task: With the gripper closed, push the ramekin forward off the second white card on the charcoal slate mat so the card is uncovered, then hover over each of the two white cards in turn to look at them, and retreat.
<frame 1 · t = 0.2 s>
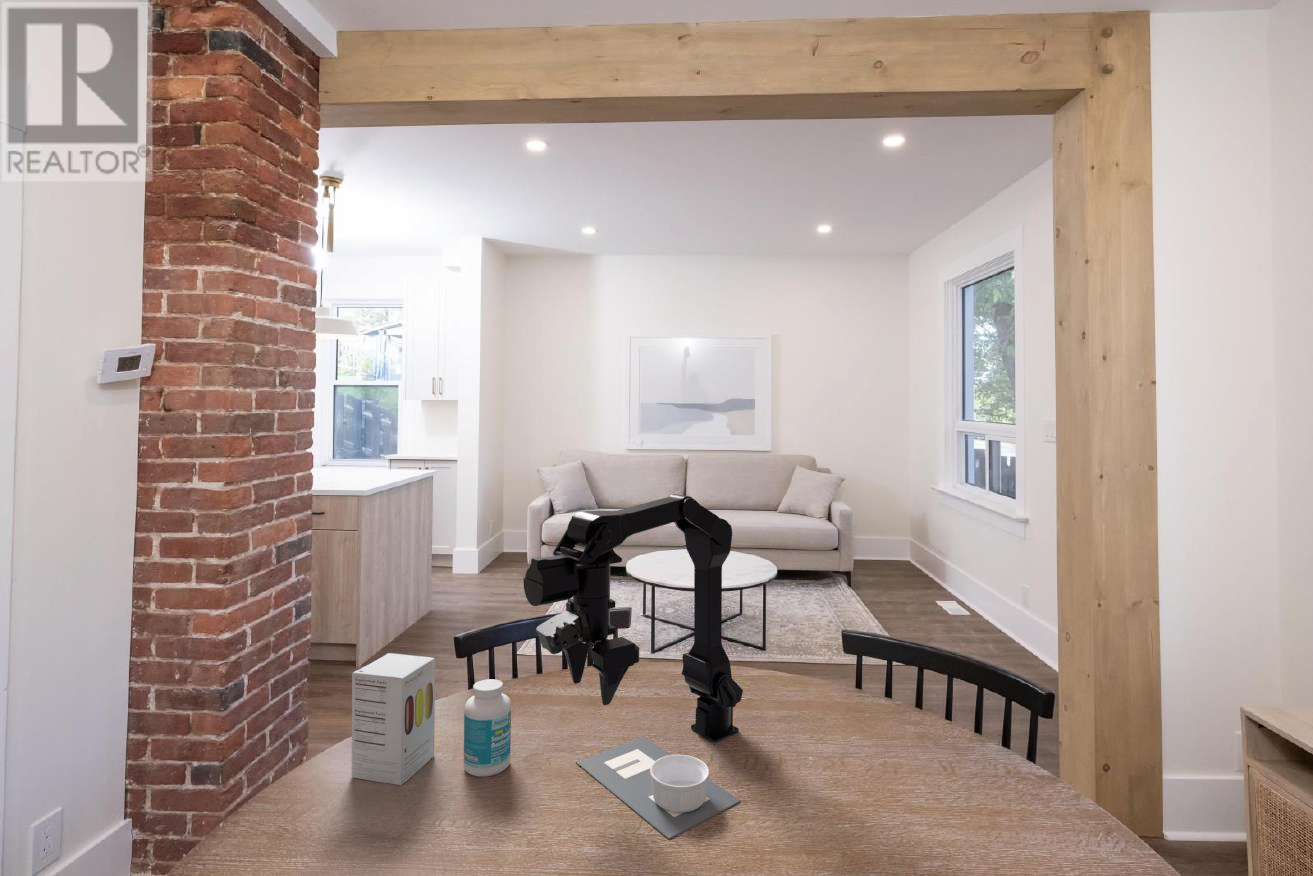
hand: (591, 693, 98), 14 cm above the table, tool pointing down, fingers open, 9 cm apart
slate mat: (654, 781, 99), on the table
ramekin: (679, 799, 95), resting on slate mat
supplement box: (394, 768, 103), on the table
pill bottle: (487, 767, 103), on the table
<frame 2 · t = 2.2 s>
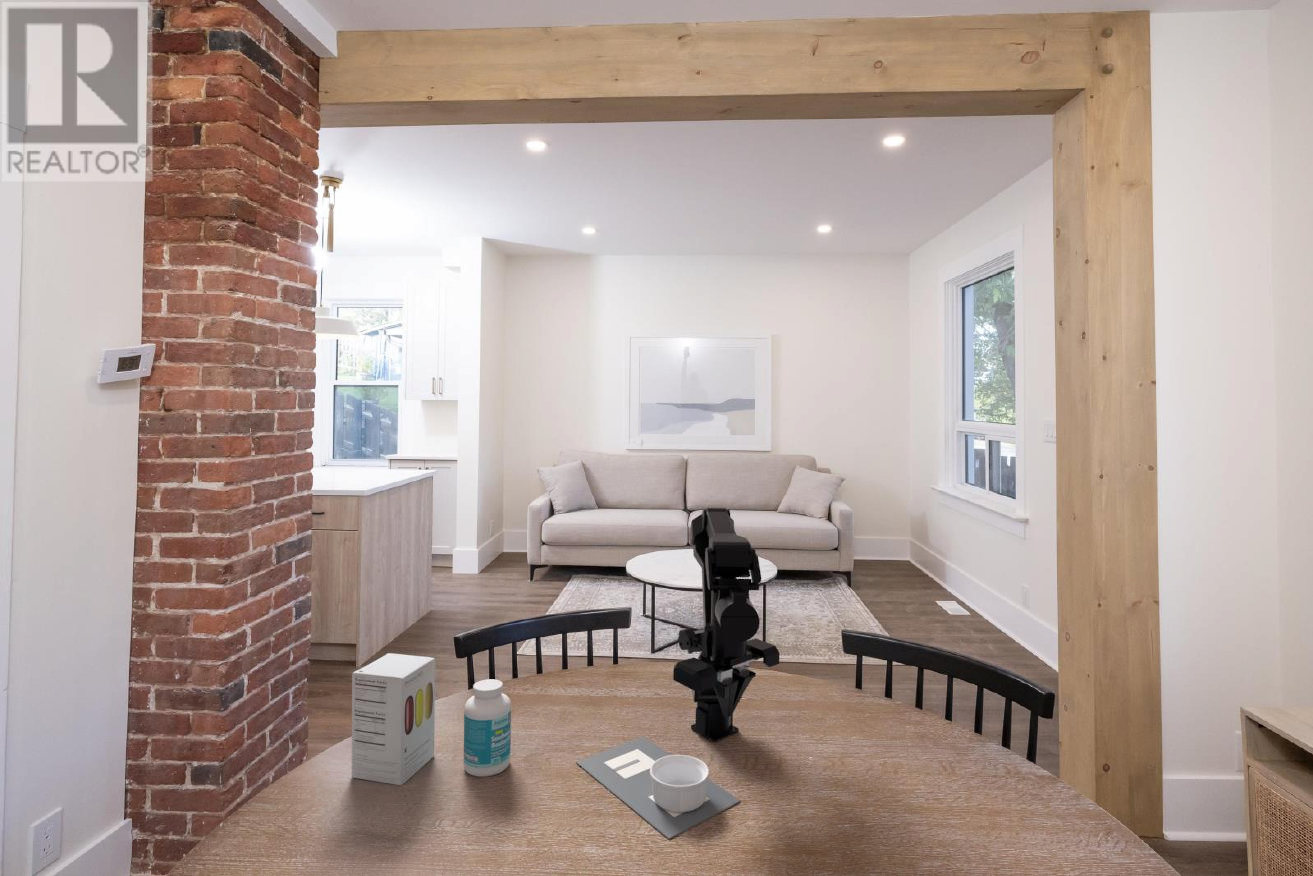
hand: (727, 715, 101), 10 cm above the table, tool pointing down, fingers closed
nothing on the table moved.
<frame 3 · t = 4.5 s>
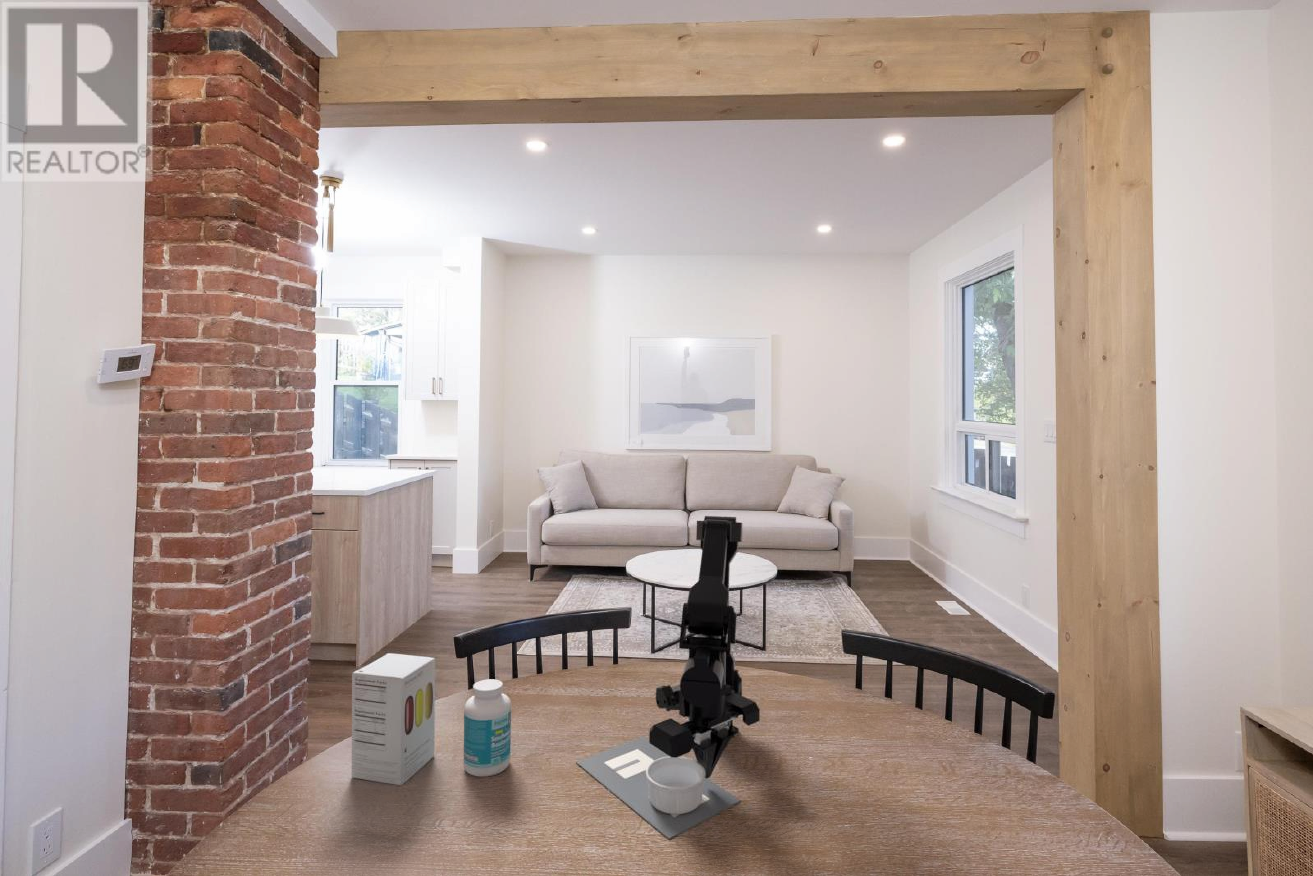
hand: (706, 776, 98), 2 cm above the table, tool pointing down, fingers closed
ramekin: (675, 800, 94), resting on slate mat, touching gripper
everything else where it was.
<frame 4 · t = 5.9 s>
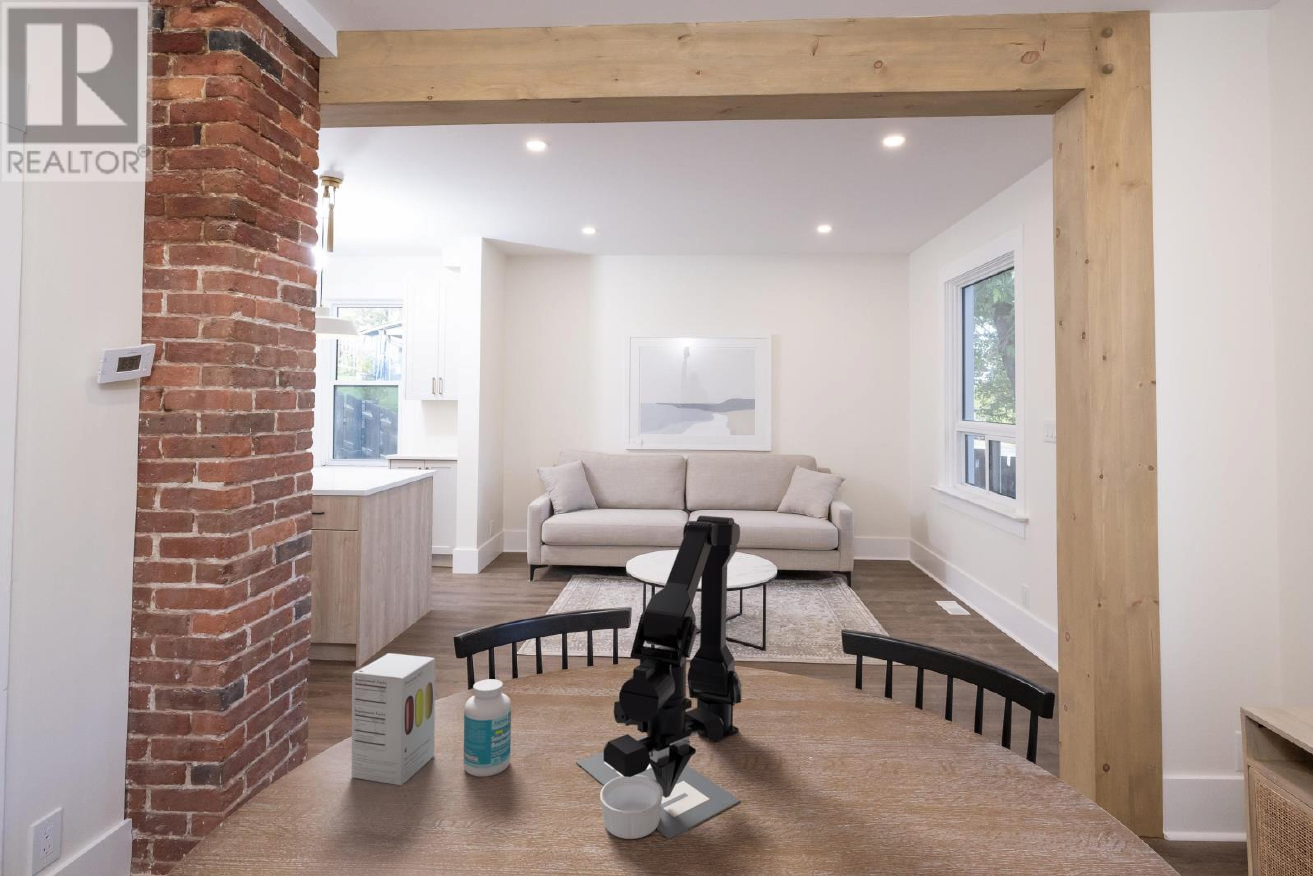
hand: (665, 796, 93), 2 cm above the table, tool pointing down, fingers closed
ramekin: (632, 823, 89), on the table, touching gripper
everything else where it was.
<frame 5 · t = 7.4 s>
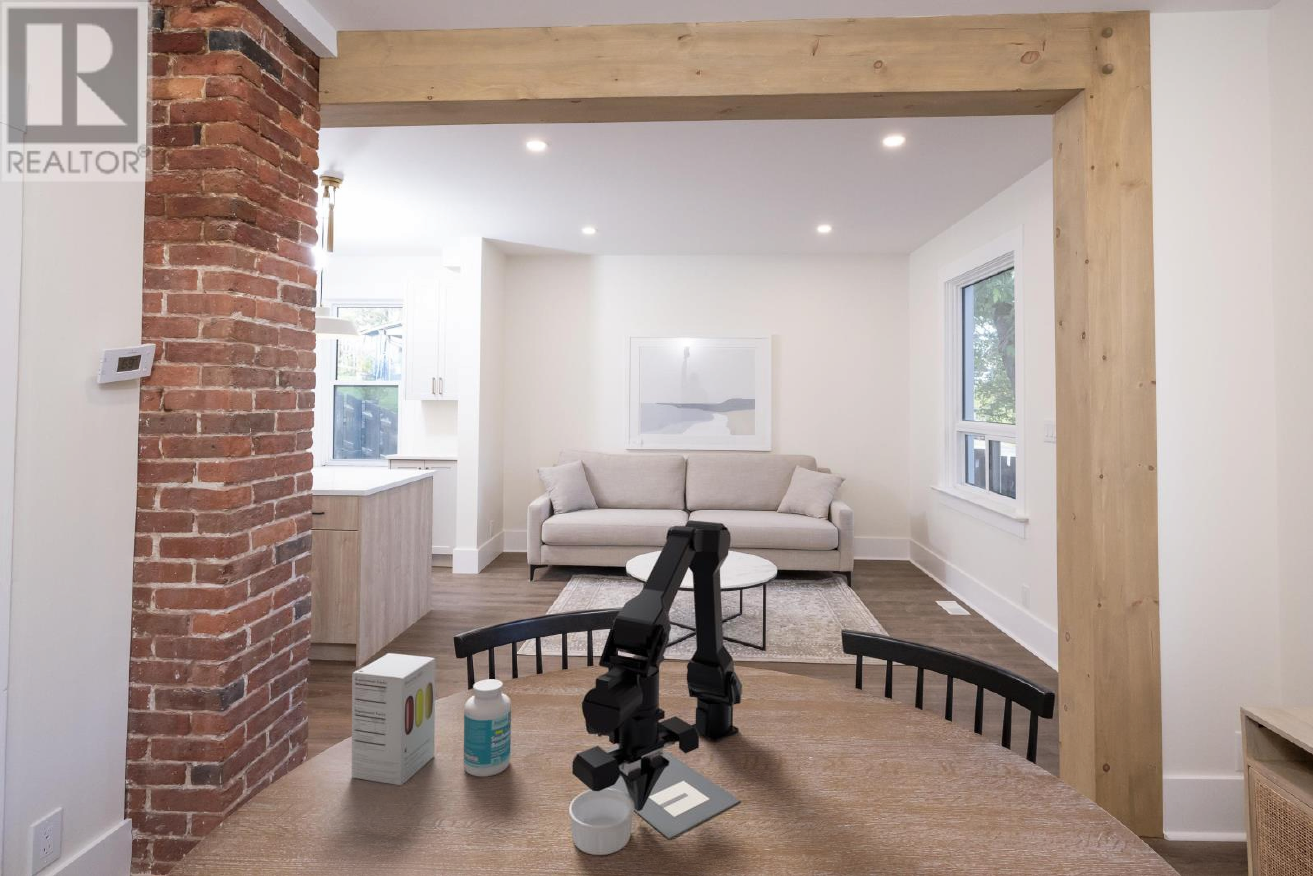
hand: (637, 809, 90), 1 cm above the table, tool pointing down, fingers closed
ramekin: (601, 838, 86), on the table, touching gripper
everything else where it was.
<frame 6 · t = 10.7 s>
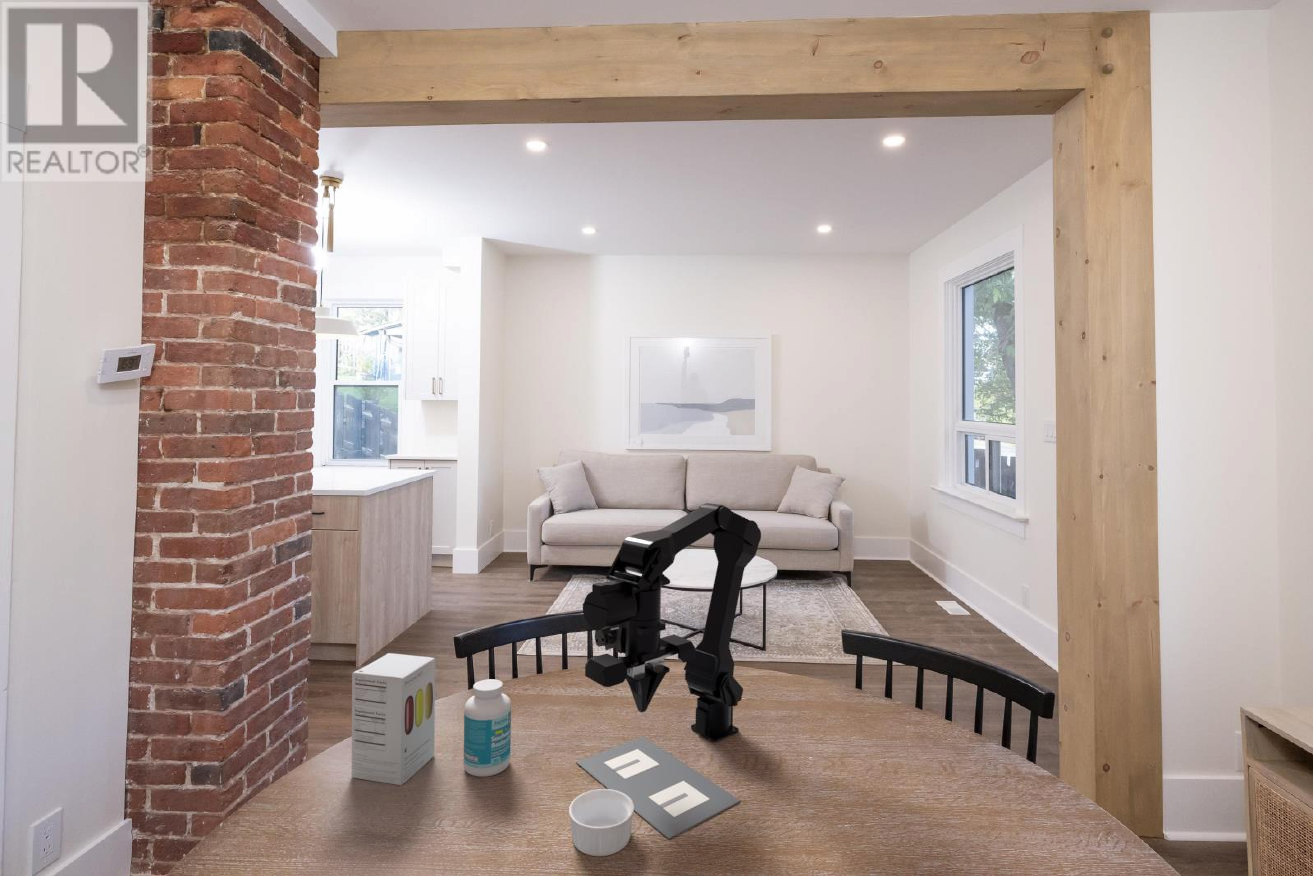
hand: (641, 711, 102), 10 cm above the table, tool pointing down, fingers closed
ramekin: (601, 839, 86), on the table
everything else where it was.
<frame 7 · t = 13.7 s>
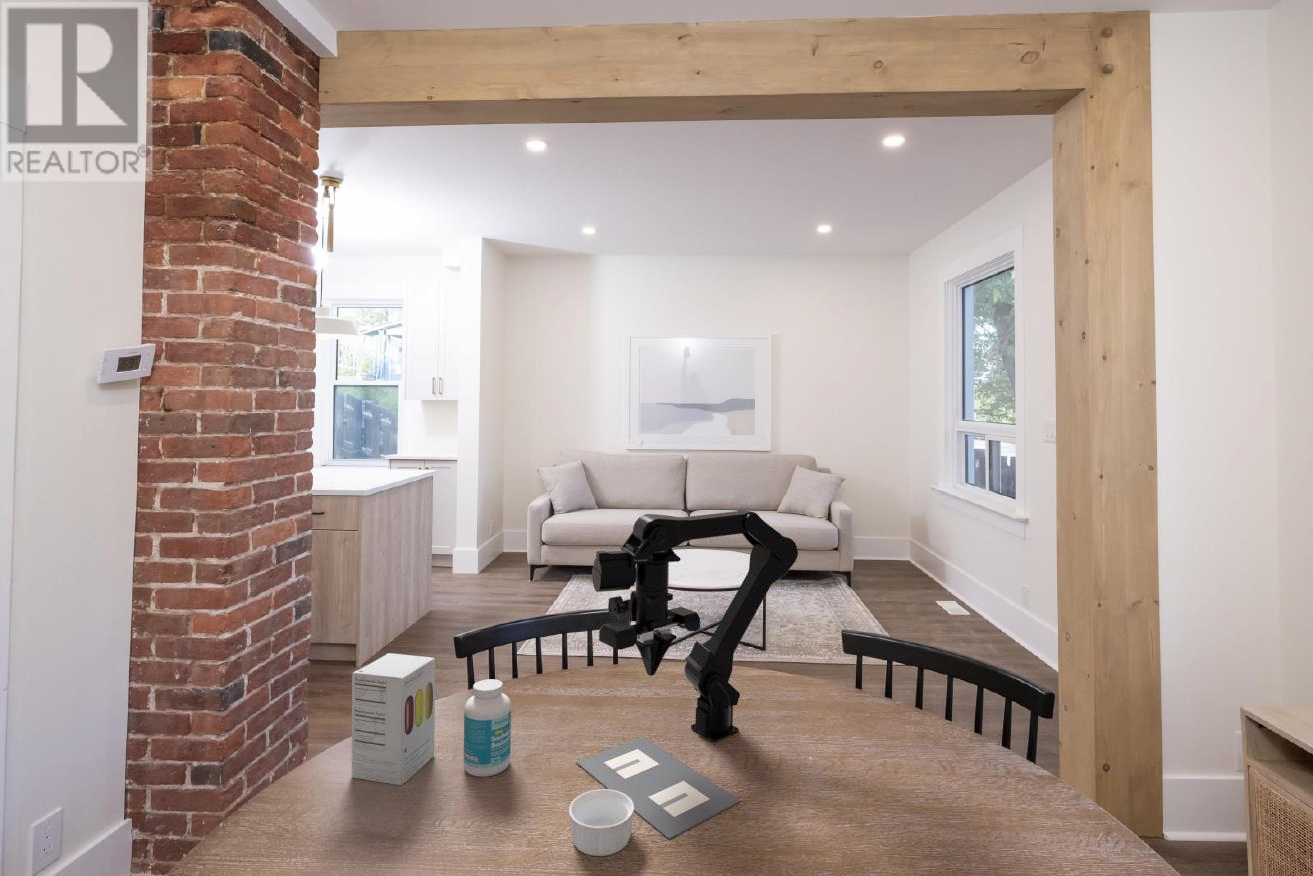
hand: (650, 674, 111), 12 cm above the table, tool pointing down, fingers closed
nothing on the table moved.
at the end: ramekin inside the target area (0.8 cm from its centre), on the table; ramekin tilted 0°; ramekin moved 14.0 cm from its start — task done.
